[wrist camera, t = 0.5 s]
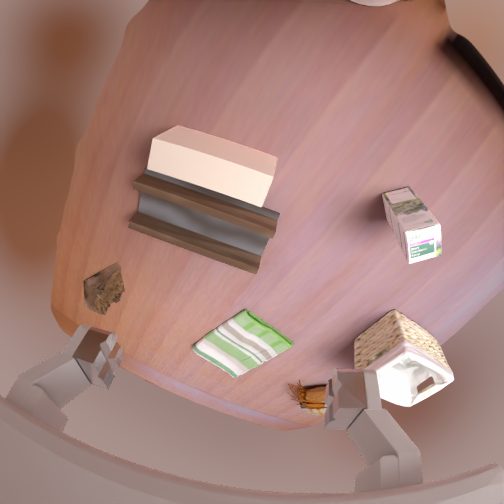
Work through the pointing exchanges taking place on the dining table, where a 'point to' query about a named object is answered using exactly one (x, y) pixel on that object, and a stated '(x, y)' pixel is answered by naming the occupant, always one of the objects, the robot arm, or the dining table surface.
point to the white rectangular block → (213, 163)
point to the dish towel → (241, 344)
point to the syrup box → (412, 225)
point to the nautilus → (312, 399)
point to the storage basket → (402, 359)
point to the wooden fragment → (103, 289)
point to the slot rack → (203, 220)
